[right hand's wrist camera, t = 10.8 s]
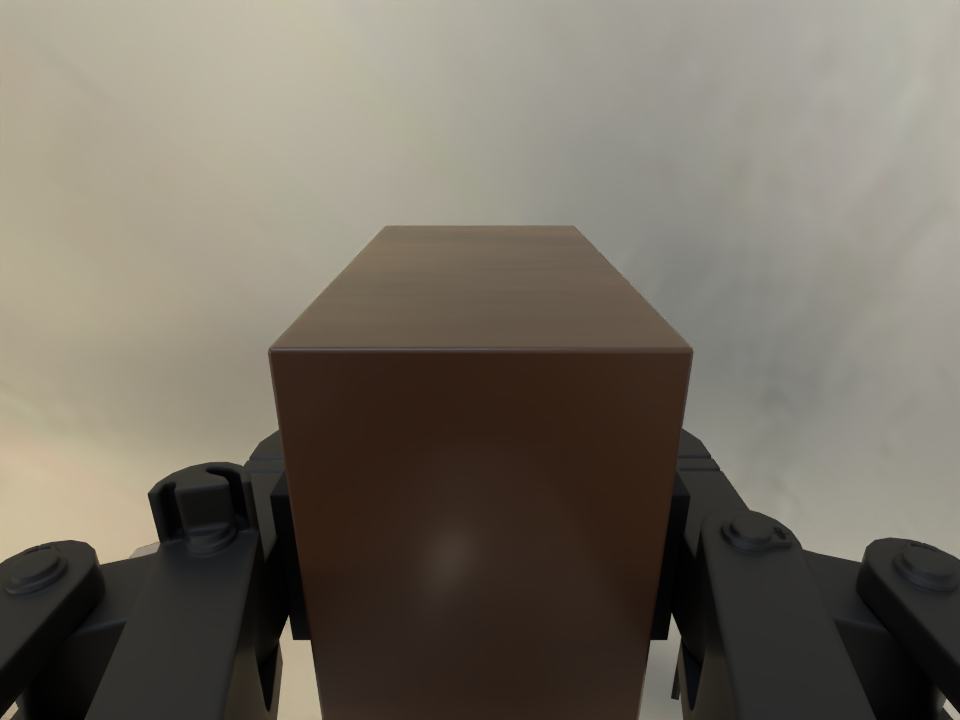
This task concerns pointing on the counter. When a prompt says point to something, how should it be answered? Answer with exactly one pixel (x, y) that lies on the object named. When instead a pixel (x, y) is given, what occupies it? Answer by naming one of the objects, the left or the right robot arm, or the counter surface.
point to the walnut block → (480, 475)
